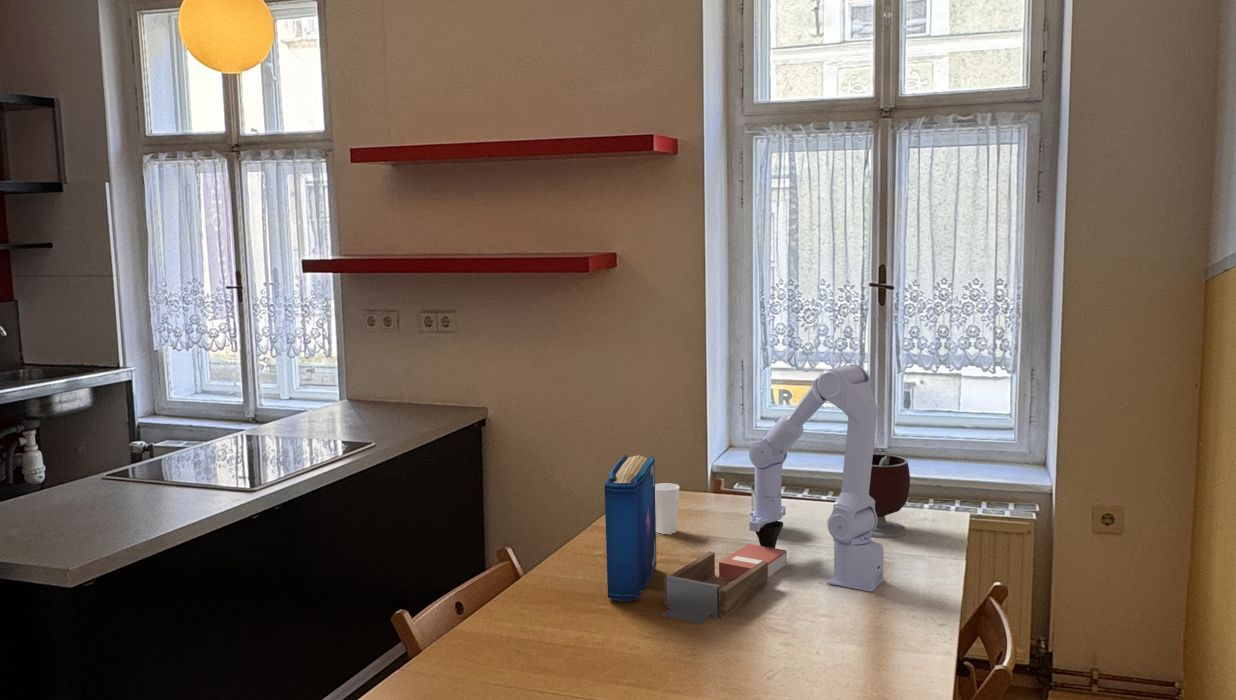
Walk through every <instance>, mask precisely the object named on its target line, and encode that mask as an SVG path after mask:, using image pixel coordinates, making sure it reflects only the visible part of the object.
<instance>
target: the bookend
mask: <svg viewBox="0 0 1236 700" xmlns="http://www.w3.org/2000/svg"><path fill="white" fill-rule="evenodd" d="M670 575H671V574H670ZM670 575H667V576H666V578H667V605H666V607H667V608H668V610H667V611H665V612H663V613H662V617H663V616H664V617H668V618H673V619H676V620H682V621H685V622H691V623H695V624H700V625H701V624H703V623H704V622H705V621H706V620H708V619H710V618H716V619H718V618H720V617H721V616H720V590H721V589H720V588H721V587H720V585H718V584H714V583H709V582H700V581H695V580H690V579H685V578H680V577H675V576H670Z"/></svg>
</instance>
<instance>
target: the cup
mask: <svg viewBox="0 0 1236 700" xmlns="http://www.w3.org/2000/svg"><path fill="white" fill-rule="evenodd" d="M679 500H680V485H679V484H676V483H670V482H669V483H668V482H663V483H655V509H656V532H657V533H656V534H658V533H661V534H660V535H662V534H667V535H673V534H672V533H674V534H676V533H677V528H678V525H677V524H678V504H679ZM675 532H676V533H675Z"/></svg>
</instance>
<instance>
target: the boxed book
mask: <svg viewBox="0 0 1236 700" xmlns="http://www.w3.org/2000/svg"><path fill="white" fill-rule="evenodd" d="M787 556H788V555H787V550H786V549H780V548H776V547H775V548H770V547H764V546H760V544H759V545H758V544H751V543H748V544H746V545H744V546H743V547H741V548H740V549H738V550H736V551H735V552H733V553H732V554H730V555H728V556H727V557H725V558H723V559H722V560H720V561H718V577H719V578H720V577H721V579H725V578H727V579H726V580H730V579H731V581H734V580H735V579H737V578H738V577H740V576H741V575H743V574H744V573H746V572H747V571H748V570H750V569H751V568H753V567H754V566H756V565H757V564H759V563H760V562H761V561H766V562H768V579H770V578H771V577H772V576H773V575H775V574H776V573H778V572H779V571H780V570H782V569H783V568H784V567H786V566H787Z"/></svg>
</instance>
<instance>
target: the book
mask: <svg viewBox="0 0 1236 700" xmlns="http://www.w3.org/2000/svg"><path fill="white" fill-rule="evenodd" d="M655 465H656V464H655V457H654V456H652V455H650V456H649V457H647V456H646V457H645V456H643V455H642V456H641V455H634V456H628V455H627V454H625V455H623V456H622V457H621V458H620V459H619V460H618V461H617V462H616V463H615V464H614V466H613V468H612V469H611V470H610V472H609V473H608V480H606V481H605V482H604V509H605V510H604V513H605V539H606V540H605V541H606V542H605V547H606V574H607V575H606V581H607V586H606V587H607V598H608V599H611V600H614V601H620V602H631V601H632V602H634V601H636V600H638V599H639V597H640V596H641V594H642V592H643V591H645V590H646V588H647V586H648V585H649V582H650V580H651V579H652V577H653V575H654V572H655V570H656V567H657V533H656V509H655V484H656V469H655V467H656V466H655ZM641 591H642V592H641Z"/></svg>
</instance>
